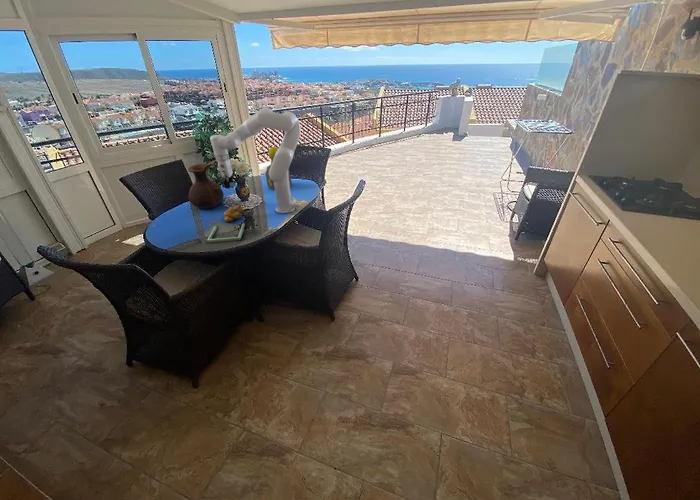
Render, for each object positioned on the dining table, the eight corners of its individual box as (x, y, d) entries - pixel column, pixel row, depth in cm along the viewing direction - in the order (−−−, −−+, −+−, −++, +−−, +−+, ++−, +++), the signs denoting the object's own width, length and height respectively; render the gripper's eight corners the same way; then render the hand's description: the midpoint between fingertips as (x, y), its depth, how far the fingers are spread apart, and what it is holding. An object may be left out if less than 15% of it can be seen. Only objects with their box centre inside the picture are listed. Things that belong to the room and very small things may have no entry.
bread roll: (230, 225, 177) (227, 213, 172) (219, 221, 181) (216, 209, 176) (246, 216, 186) (243, 204, 182) (235, 213, 190) (232, 202, 186)
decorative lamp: (297, 184, 232) (292, 145, 215) (280, 192, 219) (274, 151, 202) (279, 180, 240) (273, 142, 224) (262, 188, 227) (254, 148, 210)
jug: (198, 215, 189) (182, 169, 173) (188, 205, 203) (172, 161, 186) (231, 205, 201) (219, 161, 185) (219, 196, 215) (207, 154, 198)
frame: (245, 225, 176) (244, 223, 175) (240, 239, 162) (239, 237, 161) (215, 227, 174) (214, 225, 173) (207, 242, 160) (206, 240, 159)
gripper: (225, 161, 166) (233, 189, 176) (231, 153, 181) (238, 179, 190) (212, 161, 166) (220, 190, 175) (219, 153, 180) (226, 180, 189)
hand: (229, 185), depth 183 cm, fingers open, 9 cm apart
